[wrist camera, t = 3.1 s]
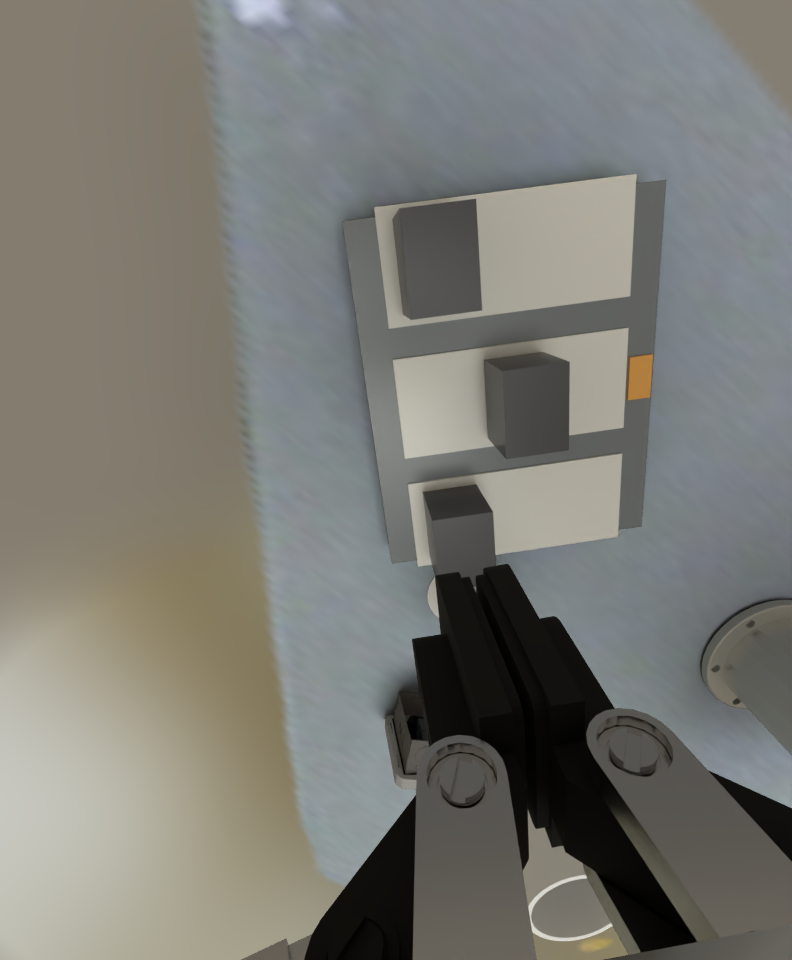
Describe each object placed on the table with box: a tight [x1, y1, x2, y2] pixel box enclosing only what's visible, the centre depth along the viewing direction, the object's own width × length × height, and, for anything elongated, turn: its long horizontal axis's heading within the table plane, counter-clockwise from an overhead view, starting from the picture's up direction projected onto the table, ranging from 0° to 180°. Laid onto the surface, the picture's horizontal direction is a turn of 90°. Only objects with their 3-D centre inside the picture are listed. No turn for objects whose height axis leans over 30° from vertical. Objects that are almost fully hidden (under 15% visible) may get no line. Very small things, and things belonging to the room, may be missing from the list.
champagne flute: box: [428, 578, 612, 941], centre depth 33 cm, size 7×7×24 cm
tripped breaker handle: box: [484, 352, 570, 459], centre depth 32 cm, size 4×6×4 cm
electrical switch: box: [385, 692, 429, 789], centre depth 45 cm, size 9×5×9 cm, turn 80°
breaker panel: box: [342, 174, 666, 587], centre depth 34 cm, size 20×25×8 cm
